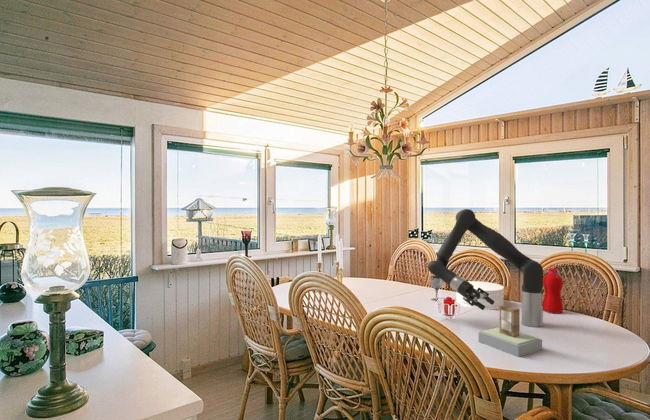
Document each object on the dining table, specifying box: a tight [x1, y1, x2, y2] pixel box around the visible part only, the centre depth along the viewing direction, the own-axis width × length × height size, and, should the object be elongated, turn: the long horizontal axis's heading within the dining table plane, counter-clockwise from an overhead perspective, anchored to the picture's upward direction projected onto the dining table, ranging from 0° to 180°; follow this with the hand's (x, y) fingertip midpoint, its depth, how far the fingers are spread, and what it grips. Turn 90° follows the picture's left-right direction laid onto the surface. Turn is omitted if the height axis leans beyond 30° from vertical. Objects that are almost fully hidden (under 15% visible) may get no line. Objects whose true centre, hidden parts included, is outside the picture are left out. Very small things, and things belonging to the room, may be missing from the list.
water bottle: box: [542, 267, 564, 314], centre depth 226 cm, size 9×11×25 cm
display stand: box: [478, 326, 543, 357], centre depth 173 cm, size 20×16×5 cm
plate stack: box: [455, 280, 505, 311], centre depth 246 cm, size 28×28×12 cm
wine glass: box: [429, 275, 444, 302], centre depth 255 cm, size 8×8×15 cm
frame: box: [499, 304, 521, 337], centre depth 173 cm, size 7×4×12 cm, turn 28°
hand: (488, 305), depth 190 cm, fingers open, 8 cm apart
